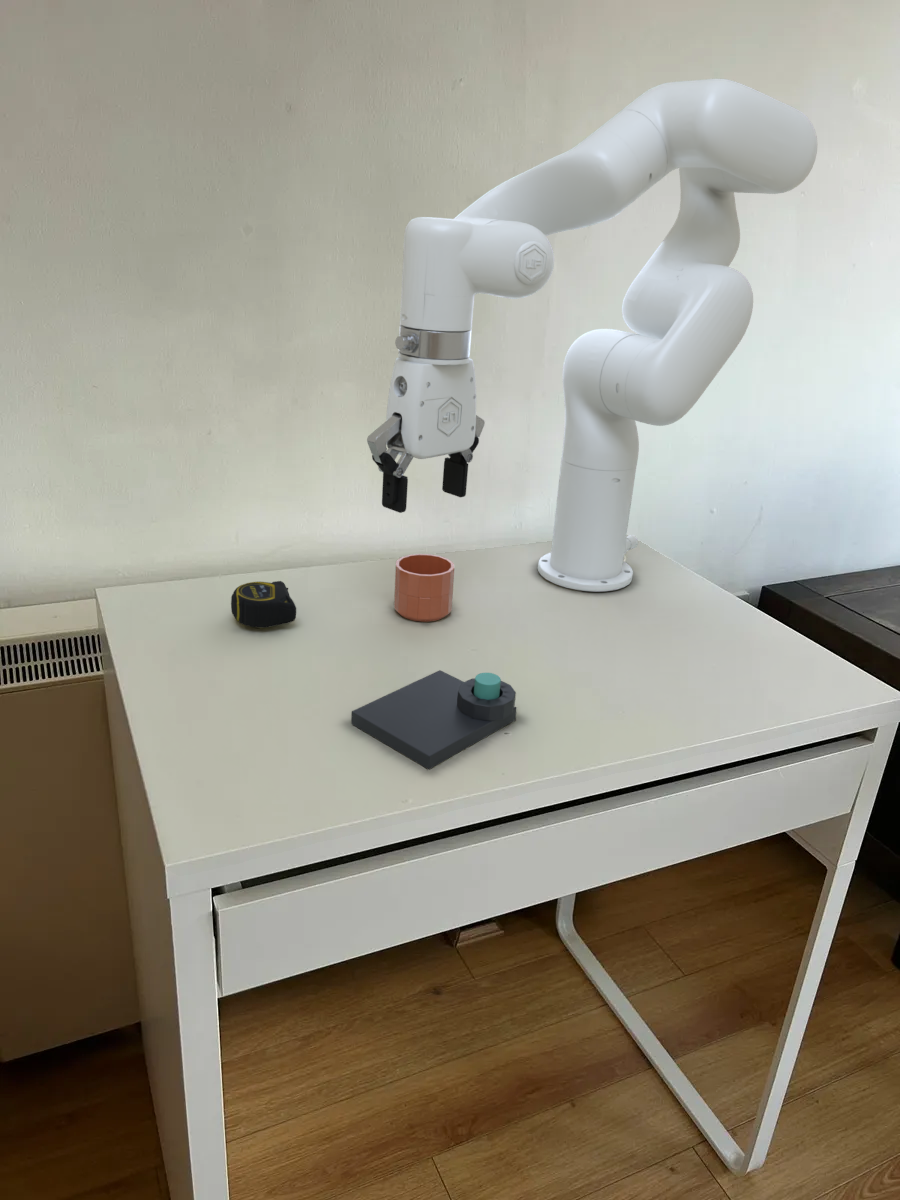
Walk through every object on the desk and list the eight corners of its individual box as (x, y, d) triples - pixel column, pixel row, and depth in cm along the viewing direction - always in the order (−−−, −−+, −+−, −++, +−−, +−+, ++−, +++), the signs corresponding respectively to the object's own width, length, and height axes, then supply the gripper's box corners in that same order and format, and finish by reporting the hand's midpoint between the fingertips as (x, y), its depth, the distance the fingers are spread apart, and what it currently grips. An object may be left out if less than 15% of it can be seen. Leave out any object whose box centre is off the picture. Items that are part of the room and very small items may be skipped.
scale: (443, 679, 92) (445, 653, 91) (523, 719, 86) (526, 692, 85) (350, 724, 83) (351, 696, 82) (432, 772, 77) (434, 742, 76)
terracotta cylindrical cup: (422, 594, 111) (424, 549, 109) (463, 612, 107) (466, 565, 105) (382, 609, 107) (383, 562, 104) (423, 628, 103) (425, 580, 100)
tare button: (485, 685, 86) (486, 669, 85) (504, 695, 85) (506, 679, 84) (468, 694, 84) (469, 677, 84) (488, 704, 83) (489, 687, 82)
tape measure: (297, 631, 100) (297, 600, 99) (235, 636, 98) (233, 605, 97) (288, 606, 106) (288, 576, 105) (228, 610, 104) (227, 580, 103)
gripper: (401, 355, 86) (392, 525, 93) (513, 346, 98) (499, 496, 105) (348, 344, 91) (344, 506, 98) (462, 336, 103) (451, 481, 110)
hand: (424, 501), depth 101 cm, fingers open, 9 cm apart
